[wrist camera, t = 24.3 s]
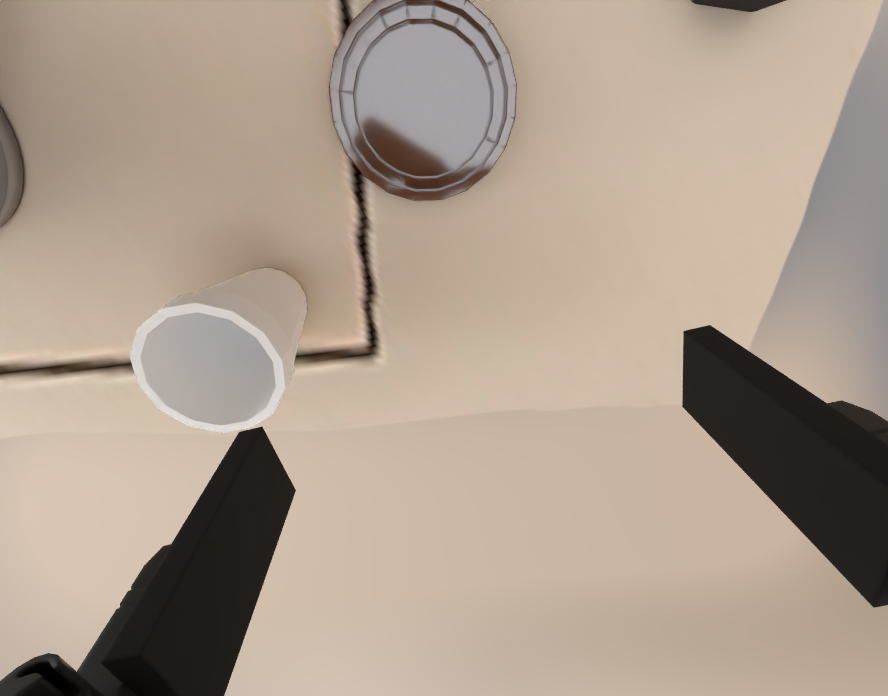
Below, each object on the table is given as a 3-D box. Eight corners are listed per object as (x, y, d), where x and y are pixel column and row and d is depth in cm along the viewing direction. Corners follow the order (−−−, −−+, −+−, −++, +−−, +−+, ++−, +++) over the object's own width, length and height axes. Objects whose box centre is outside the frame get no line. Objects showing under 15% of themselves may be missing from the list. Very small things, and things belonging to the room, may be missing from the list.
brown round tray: (320, 169, 35) (315, 170, 33) (354, -38, 29) (350, -48, 28) (478, 217, 37) (481, 221, 35) (538, 34, 31) (544, 28, 30)
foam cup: (195, 274, 38) (96, 336, 26) (289, 232, 37) (228, 279, 25) (256, 361, 42) (194, 450, 30) (342, 327, 41) (311, 404, 29)
